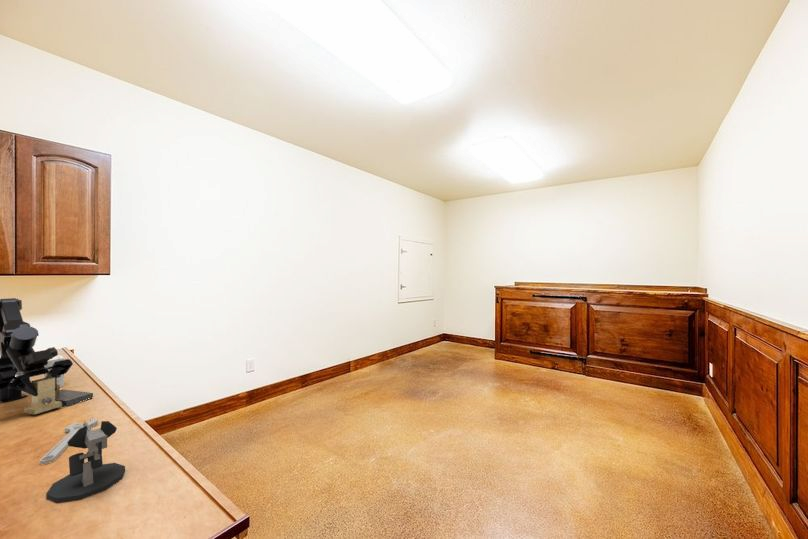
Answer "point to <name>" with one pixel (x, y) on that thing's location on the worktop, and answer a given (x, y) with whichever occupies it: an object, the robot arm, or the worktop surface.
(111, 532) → the worktop surface
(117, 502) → the worktop surface
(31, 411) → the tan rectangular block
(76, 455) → the gun turret
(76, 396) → the brushed steel slab
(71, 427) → the adjustable wrench
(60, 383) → the ink box
